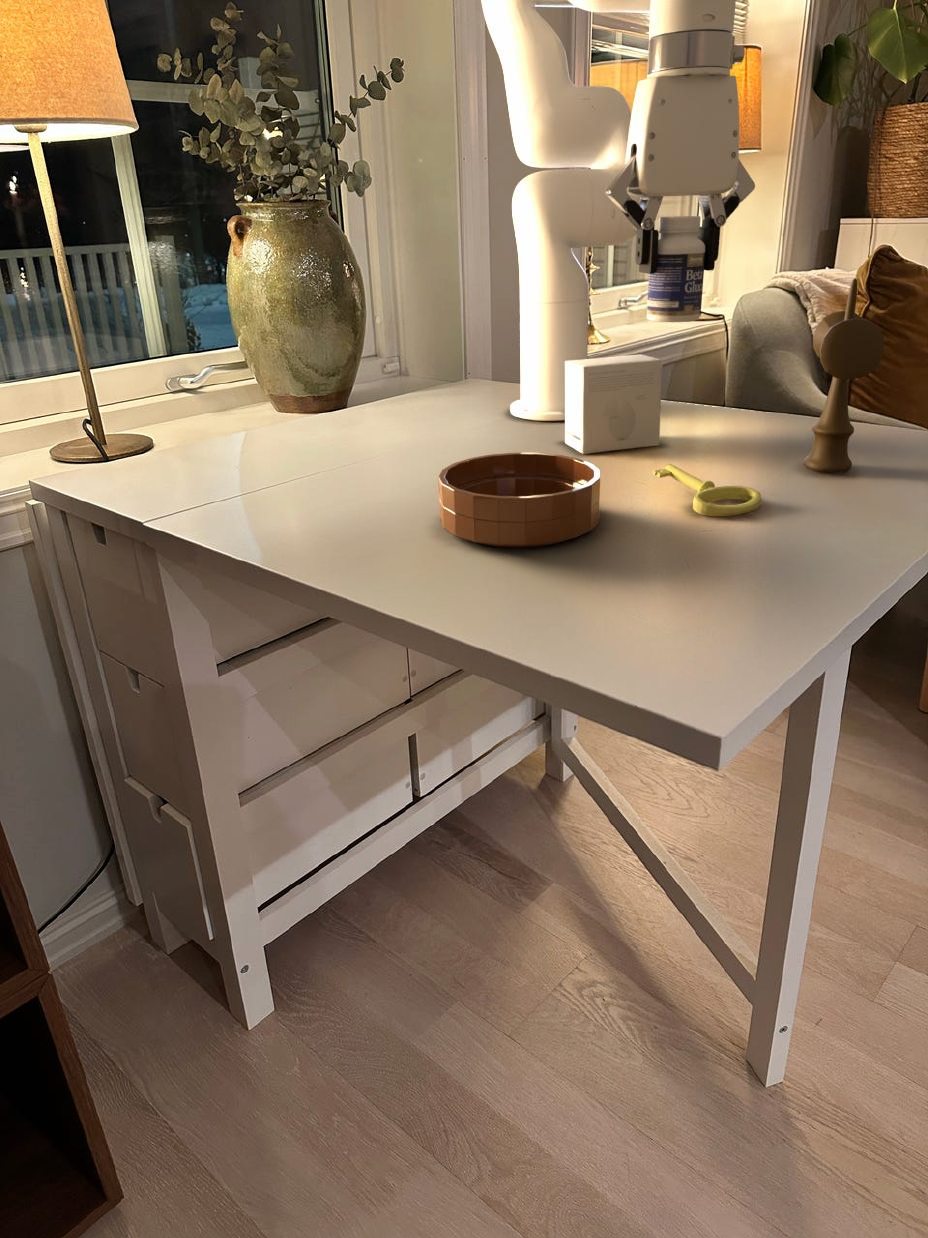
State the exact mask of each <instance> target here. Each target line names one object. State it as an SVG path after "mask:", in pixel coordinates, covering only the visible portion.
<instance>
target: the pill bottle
mask: <svg viewBox="0 0 928 1238" xmlns="http://www.w3.org/2000/svg"><path fill="white" fill-rule="evenodd" d="M701 219H702V216H701V215H684V216H681V215H678V216H677V215H676V216H675V215H674V216H660V217H659V219H658V229H657V230H658V232H659V234H660V237H659V240H658V258H657V271H656V272H655V273H654V274H648V287H647V303H646V304H647V306H646V319H647V320H649V321H650V322H653V323H654V322H656V323H689V322H690V323H691V322H694V321H697V320H699V319H700V317H701V309H702V297H703V296H702V295H703V284H704V273H705V272H704V271H705V270H704V259H705V245H704V243H703V242H702V241H701V240H699V239H698V238H697V232H699V229H700V227H701Z"/></svg>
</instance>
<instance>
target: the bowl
mask: <svg viewBox="0 0 928 1238" xmlns="http://www.w3.org/2000/svg"><path fill="white" fill-rule="evenodd" d="M437 481H438V482H437V483H438V501H439V504H438V505H439V521H440V523H441V525H442V527H443V529H444V530H446V531H447V532H448V533H450V534H452V535H454V536H455V537H458V538H461V539H464V540H467V541H470V542H473V543H477V544H480V545H486V546H491V547H500V548H534V547H543V546H549V545H555V544H559V543H563V542H566V541H569V540H571V539H575V538H577V537H580V536H582V535H584V534H586V533H588V532H591V531H592V530H593V529H594V528H595V527H596V526H597V525H598V524H599V523H600V497H601V495H600V494H601V470H600V469H599V468H598V467H597V466H596V465H594V464H593V463H591V462H588V461H586V460H584V459H580V458H578V457H574V456H568V455H563V454H556V453H555V454H554V453H545V452H544V453H543V452H505V453H504V452H503V453H493V454H491V453H490V454H485V455H481V456H475V457H470V458H466V459H463V460H460V461H456V462H455V463H454V462H453V463H451V464H450V465H448V466H446V467H444V468H443V469H442V470H441V471H440V473H439V475H438V476H437Z"/></svg>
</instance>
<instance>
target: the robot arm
mask: <svg viewBox="0 0 928 1238" xmlns="http://www.w3.org/2000/svg"><path fill="white" fill-rule="evenodd" d="M736 3H737V0H481V6H482V7H481V8H482V11H483V16H484V19H485V23H486V26H487V30H488V32H489V34H490V37H491V40H492V42H493V45H494V47H495V49H496V52H497V54H498V55H497V56H498V57H499V61H500V63H501V69H502V71H503V72H502V73H503V78H504V79H503V80H504V86H505V94H506V101H507V107H508V114H509V122H510V128H511V129H510V130H511V135H512V141H513V145H514V148H515V152H516V156H517V157H518V159H519V160H520V162H521V163H523V164H524V165H526V166H528V167H532V168H537V169H539V168H540V169H545V170H541V171H537V172H533V173H531V174H528V175H527V176H525V177H523V178H522V179H521V180H520V181H519V182H518V183H517V185H516V186H515V189H514V191H513V194H512V200H511V212H512V221H513V222H512V223H513V228H514V233H515V234H514V235H515V240H516V247H517V248H516V249H517V255H518V270H519V271H518V272H519V274H518V275H519V316H520V317H519V333H520V334H519V337H520V339H519V341H520V342H519V347H520V350H519V351H520V352H519V353H520V356H519V357H520V360H519V361H520V362H519V363H520V399H517V400H515V401H513V402H511V404H510V405H509V410H510V414H511V415H512V416H514V417H516V418H519V419H523V420H529V421H537V422H539V421H540V422H562V421H563V422H565V361H571V360H583V359H588V354H589V353H588V348H589V347H588V345H589V308H590V307H589V306H590V285H589V279H588V276H587V274H586V271H585V270H584V268H583V267H582V264H580V262H579V260H578V259H577V257H576V256H575V254H574V252H573V249H581V248H595V247H596V248H597V247H610V246H619V245H624V244H627V243H629V242H630V241H633V239H634V238H635V237H636V238H635V257H634V258H635V264H636V265H637V266H638V272H639V273H642V274H648V275H649V274H654V273H655V272H656V271H657V258H658V240H659V239H660V237H659V236H660V233H659V229H655V227H656V226H655V223H656V219H657V216H658V214H659V210H660V209H661V205H662V202H663V200H664V197H687V196H697V201H698V205H699V209H700V214H701V219H702V224H701V225H702V226H700V229H699V232H697V238H698V239H699V240H701V241H702V242H703V243H704V245H705V259H704V271H708V272H710V271H714V270H715V266H716V261H717V260H718V258H719V251H720V239H721V229H722V227H723V226H725V225H726V223H727V220H728V218H729V217H730V216H731V215H732V214H733V213H734V212H735V211H736V210H737V209H738V207H739V206H740V204H741V203H742V202H743V201H745V199H746V198H747V197H749V196H750V195H751V194H752V193H753V191H754V190H755V188H756V183H755V181H754V180H753V178H752V177H751V175H750V174H749V172H748V171H747V169H746V168H745V166H744V164H743V163H742V161H741V160H740V159H739V158H740V103H739V102H740V101H739V92H738V83H737V77H736V75H731V70H733V65H735V64H742V63H743V61H744V59H745V54H746V52H745V51H746V50H745V49H746V48H745V47H744V46H743V45H737V44H735V38H736V35H734V28H735V15H736ZM536 7H539V8H540V7H542V8H544V7H545V8H578V9H581V10H584V11H587V12H592V13H647V14H649V29H648V40H649V41H648V48H647V50H648V52H647V73H646V79H642V80H638V82H637V85H636V89H635V93H634V99H633V104H632V108H630V105H629V103H628V101H627V99H626V97H625V96H624V94H622V92H620V91H619V90H618V89H616V88H614V87H611V86H605V85H603V86H601V85H576V84H575V83H573V82H572V80H571V77H570V74H569V73H570V71H569V65H568V57H567V53H566V48H565V47H564V44H563V43H562V41H561V40H560V38H559V36H558V34H557V33H556V31H554V29H553V28H552V26H551V24H549V23H548V21H546V20H545V19H544V18H543V17H542V16H541V15H540V14H539V13H538V11H537V8H536ZM631 109H632V110H631ZM559 168H560V169H559ZM562 168H563V169H562ZM565 168H566V169H565ZM546 169H547V170H546ZM727 192H729V193H728V194H727V195H726V196H725V195H724V196H723V195H722V194H725V193H727Z"/></svg>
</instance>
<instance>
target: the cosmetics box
mask: <svg viewBox="0 0 928 1238" xmlns="http://www.w3.org/2000/svg"><path fill="white" fill-rule="evenodd" d="M663 363H664V362H663V359H661V358H657V357H654V356H649V355H646V354H640V353H639V354H629V355H620V356H619V355H617V356H607V357H595V358H587V359H583V360H571V361H565V420H564V443H565V445H567V446H569V447H570V448H573V449H575V450H576V451H577V452H579V453H580V454H582V455H587V454H596V453H602V452H603V453H604V452H611V451H613V452H614V451H620V450H630V449H636V448H637V449H638V448H647V447H655V446H659V445H660V441H661V440H660V438H661V436H660V434H661V433H660V432H661V410H662V409H661V407H662V405H661V404H662V382H663V381H662V379H663V365H664V364H663Z"/></svg>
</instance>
